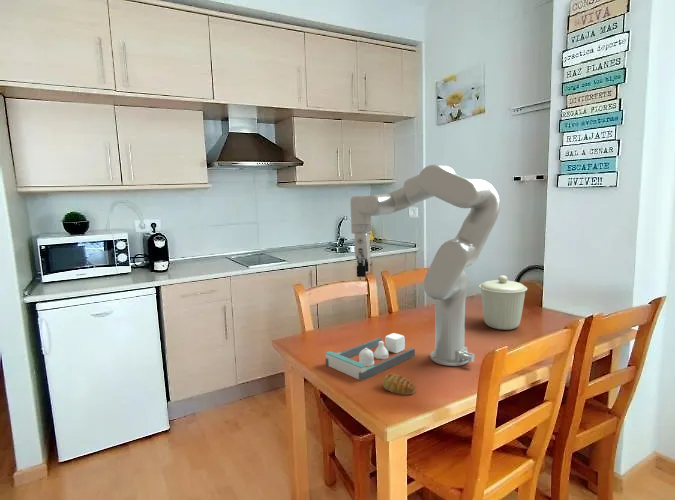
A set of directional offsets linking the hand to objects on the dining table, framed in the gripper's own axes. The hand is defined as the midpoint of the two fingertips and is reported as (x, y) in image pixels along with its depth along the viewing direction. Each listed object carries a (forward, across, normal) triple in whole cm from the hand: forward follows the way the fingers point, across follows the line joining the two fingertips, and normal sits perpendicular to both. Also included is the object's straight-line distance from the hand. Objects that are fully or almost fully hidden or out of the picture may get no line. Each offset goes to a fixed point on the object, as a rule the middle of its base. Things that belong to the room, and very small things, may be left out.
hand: (362, 274), depth 155 cm
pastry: (+26, -39, -14) cm, 49 cm away
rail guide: (+26, -20, -4) cm, 33 cm away
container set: (+26, -16, -7) cm, 32 cm away
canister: (+26, +20, -54) cm, 63 cm away
